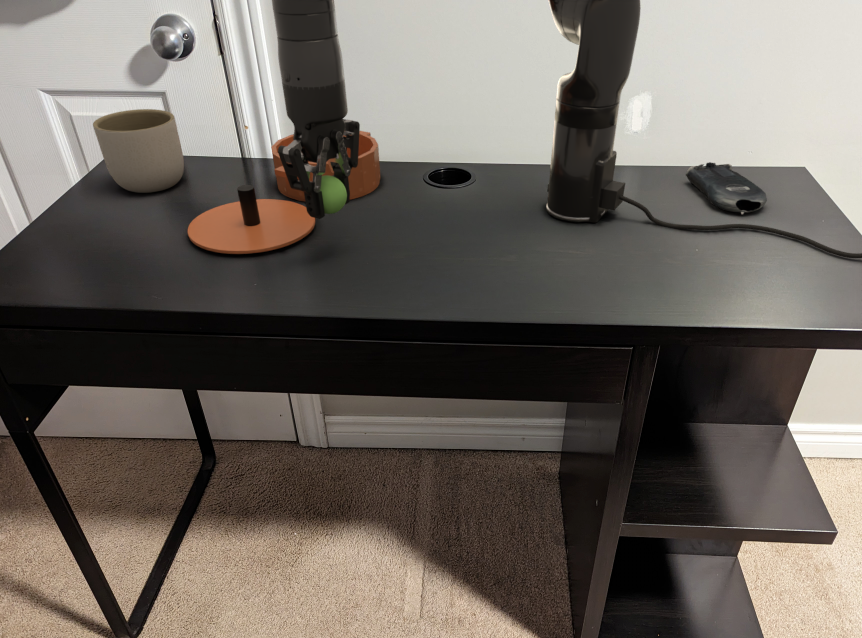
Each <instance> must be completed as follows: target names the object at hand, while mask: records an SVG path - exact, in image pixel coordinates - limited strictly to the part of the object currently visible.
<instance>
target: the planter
mask: <svg viewBox="0 0 862 638" xmlns="http://www.w3.org/2000/svg"><path fill="white" fill-rule="evenodd" d="M92 127H93V131H94V133H95V137H96V139H97V140H96V141H97V143H98V146H99V149H100V152H101V155H102V158H103V161H104V163H105V167H106V169H107V170H108V173H109V175H110V176H111V178H112V179H113V181H114V182H115V183H116V184H117V185H118V186H119V187H121V188H122V189H124V190H125V191H129V192H132V193H140V194H148V193H156V192H162V191H165V190H167V189H170V188H172V187H174V186H175V185H177V184H178V183H179V182H180V180H181V179H182V177H183V175H184V170H185V161H184V154H183V149H182V143H181V139H180V135H179V131H178V127H177V121H176V118H175V115H174V114H173V113H171V112H170V111H167V110H163V109H153V108H141V109H139V108H137V109H128V110H121V111H116V112H111V113H108V114H106V115H102V116H100V117H98V118H97V119H95V120H94V121H93V123H92Z"/></svg>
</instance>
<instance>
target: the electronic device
mask: <svg viewBox="0 0 862 638" xmlns="http://www.w3.org/2000/svg"><path fill="white" fill-rule="evenodd" d="M685 177H686V178H687V180H688V181H689V182H690V183H691V184H692V185H694V187H696V188H697V189H698V190H699V191H700V192H701V193H703V194H704V195H705V196H706V197H707V199H708V201H709V202H710V203H711V205H713V206H714V207H717V208H719V209H721V210H723V211H726V212H731V213H732V212H733V213H740V214H741V215H744V214H745V213H751V212H755V211H758V210H760V209H761V208H763V206H765V204H766V203H767V199H768V198H767V193H766V192H765V191H764V190H763V189H762V188H760V187H759V186H758V185H757V184H755V183H754V182H753V181H751V180H749V179H748V178H747V177H745V176H743V175H742V174H741V173H739V172H737V171H734V170H733V165H732V164H730V163H723V164H716V162H711V161H710V162H706V163H705V164H704V163H701V164H699V165H691V166H690V167H689V168H688V169H687V171H686V173H685Z"/></svg>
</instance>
